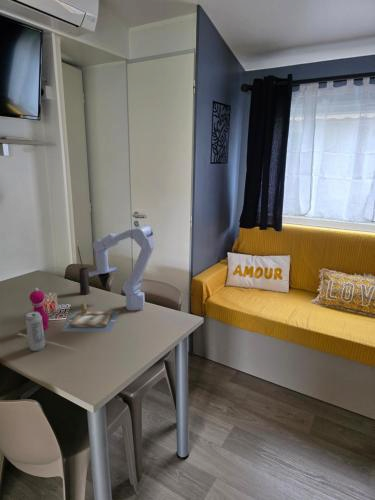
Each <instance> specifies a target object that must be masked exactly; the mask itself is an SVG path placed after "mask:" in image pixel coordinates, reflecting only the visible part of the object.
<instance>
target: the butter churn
mask: <svg viewBox="0 0 375 500" xmlns="http://www.w3.org/2000/svg"><path fill="white" fill-rule="evenodd" d="M77 252H78V255H79V256H78V257H79V260H80V265H81V267H80V268H79V269H78V271H79V273H78V274H79V279H78V280H79V294H80V295H84V296H85V295H89V294H90V293H91V291H90V285H89V283H90V282H89V272H88V268H89V266H88V267H84V266H83V262H82V257H81V253H80V248H79V246H78V245H77Z"/></svg>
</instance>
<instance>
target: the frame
mask: <svg viewBox="0 0 375 500" xmlns="http://www.w3.org/2000/svg"><path fill="white" fill-rule="evenodd" d="M80 311H81V312H78V313H77V315H76V316H75V318H74V319H73V321H72V322H71V323H70V325H71V327H106V326H107V324H108V321H109V319H110V317H111V315H112V312H87V311H88V310H87V303H86V302H83V303H80Z"/></svg>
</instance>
